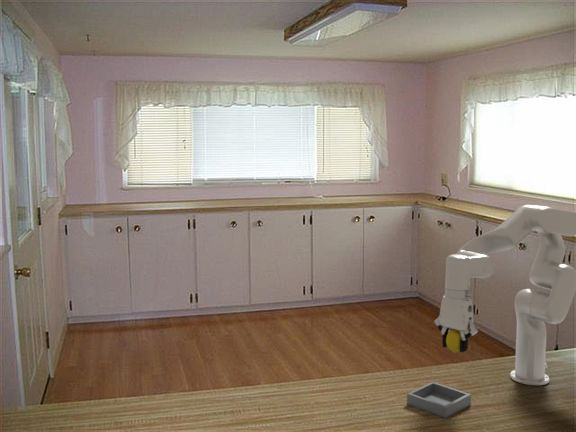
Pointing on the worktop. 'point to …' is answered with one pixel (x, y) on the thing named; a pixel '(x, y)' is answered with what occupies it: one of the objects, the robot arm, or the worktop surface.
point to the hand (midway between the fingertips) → (454, 348)
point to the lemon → (453, 340)
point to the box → (439, 399)
